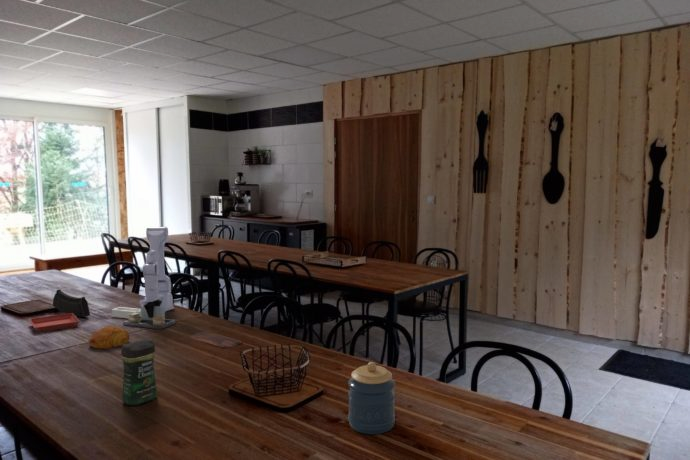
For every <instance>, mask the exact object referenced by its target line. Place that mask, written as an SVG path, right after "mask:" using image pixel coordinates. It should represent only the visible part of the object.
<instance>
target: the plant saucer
mask: <svg viewBox="0 0 690 460" xmlns="http://www.w3.org/2000/svg"><path fill="white" fill-rule="evenodd" d="M77 317H78V316H75V315H74V314H73V313H68V314H65V313H61V314H55V315H47V316H41V317H33V318H30V319H29V321H30V322H31V324H32V326H33V329H34V330H36V331H37V333H43V332H49V331H55V330H61V329H68V328H75V327H76V326H77V325H78V323H79V322H80V320H79V318H77Z"/></svg>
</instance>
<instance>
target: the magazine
mask: <svg viewBox="0 0 690 460" xmlns="http://www.w3.org/2000/svg"><path fill="white" fill-rule="evenodd" d="M52 299H53V300H52V306H53V307H54V308H56V309H57V310H58V311H61V313H62V314H68V313H73V314H74V315H75V316H76V317H83V318H86V317H89V316H91V314H90V309H89V302H88V300H87V299H86V297H85V296H82V297H76V296H72V295H69V294H67V293H65V292H63V291H62V290H61V289H57V290H56V293H54V295H53V298H52Z"/></svg>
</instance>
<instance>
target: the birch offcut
mask: <svg viewBox="0 0 690 460" xmlns="http://www.w3.org/2000/svg"><path fill="white" fill-rule="evenodd" d="M163 321H164V316H159V315H157V316H155V317H153V323H161V322H163Z"/></svg>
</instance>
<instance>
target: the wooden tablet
mask: <svg viewBox="0 0 690 460" xmlns="http://www.w3.org/2000/svg"><path fill="white" fill-rule="evenodd" d="M189 338H190V339H192V340H195V341H199V342H202V343H205V344H209V345H212V346H215V347H217V348H219V349H220V348H222V349H229V348H232V347H235V346H239V345H242V344H243V341H242V340H239V339H236V338H232V337H229V336H226V335H225V336H224V335H220V334H216V333H212V332H207V331H200V332H197V333H195V334H192V335H190V337H189Z"/></svg>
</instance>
